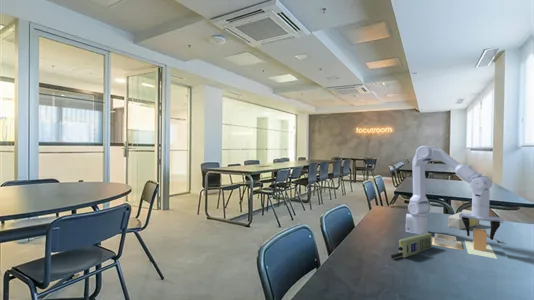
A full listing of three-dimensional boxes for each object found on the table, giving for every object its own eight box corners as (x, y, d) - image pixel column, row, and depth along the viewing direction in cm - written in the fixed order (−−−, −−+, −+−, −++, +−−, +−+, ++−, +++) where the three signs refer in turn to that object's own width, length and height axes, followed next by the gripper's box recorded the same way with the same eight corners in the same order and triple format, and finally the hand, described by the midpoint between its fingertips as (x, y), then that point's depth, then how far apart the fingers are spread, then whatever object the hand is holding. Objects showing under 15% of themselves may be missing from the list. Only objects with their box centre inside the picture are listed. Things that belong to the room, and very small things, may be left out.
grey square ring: (434, 243, 118) (434, 238, 118) (434, 238, 125) (434, 233, 125) (456, 247, 114) (456, 241, 114) (455, 242, 121) (455, 236, 121)
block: (460, 230, 141) (460, 215, 141) (444, 226, 149) (444, 211, 149) (479, 226, 150) (479, 211, 150) (463, 222, 157) (463, 208, 157)
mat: (467, 254, 108) (468, 253, 108) (464, 241, 123) (464, 240, 123) (497, 260, 103) (497, 258, 103) (489, 245, 118) (489, 244, 118)
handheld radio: (433, 249, 114) (396, 261, 101) (425, 247, 116) (388, 258, 104) (433, 233, 114) (396, 243, 101) (425, 232, 117) (388, 241, 104)
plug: (473, 249, 112) (474, 230, 112) (472, 246, 116) (473, 227, 116) (486, 251, 110) (486, 232, 110) (484, 248, 114) (485, 229, 113)
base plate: (428, 245, 118) (428, 244, 118) (429, 237, 128) (429, 236, 128) (462, 251, 111) (462, 250, 111) (460, 243, 121) (460, 241, 121)
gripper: (459, 204, 113) (459, 236, 114) (505, 209, 106) (504, 243, 106) (458, 201, 119) (458, 232, 120) (501, 206, 112) (500, 238, 112)
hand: (479, 237), depth 113 cm, fingers open, 7 cm apart
